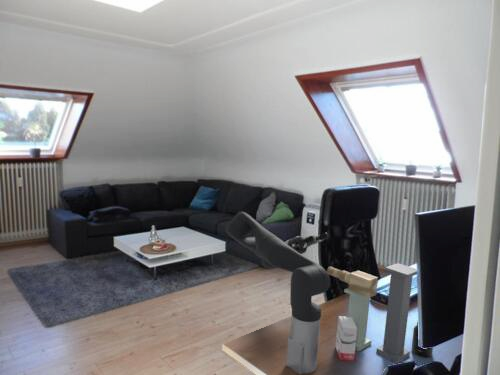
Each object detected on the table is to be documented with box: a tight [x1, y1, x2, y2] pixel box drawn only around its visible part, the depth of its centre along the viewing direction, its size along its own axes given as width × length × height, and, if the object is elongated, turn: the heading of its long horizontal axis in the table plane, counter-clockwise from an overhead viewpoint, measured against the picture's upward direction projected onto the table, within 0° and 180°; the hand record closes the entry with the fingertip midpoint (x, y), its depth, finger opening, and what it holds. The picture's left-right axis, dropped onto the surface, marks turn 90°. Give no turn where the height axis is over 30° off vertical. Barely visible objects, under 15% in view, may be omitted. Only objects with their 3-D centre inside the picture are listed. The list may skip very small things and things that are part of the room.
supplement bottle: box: [411, 321, 434, 358], centre depth 137 cm, size 7×7×12 cm
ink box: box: [335, 315, 357, 362], centre depth 134 cm, size 8×5×12 cm, turn 178°
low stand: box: [343, 287, 377, 352], centre depth 141 cm, size 8×8×20 cm
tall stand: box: [376, 262, 418, 364], centre depth 134 cm, size 8×8×31 cm
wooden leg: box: [326, 266, 379, 298], centre depth 142 cm, size 5×19×6 cm, turn 40°
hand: (320, 236), depth 156 cm, fingers open, 8 cm apart
